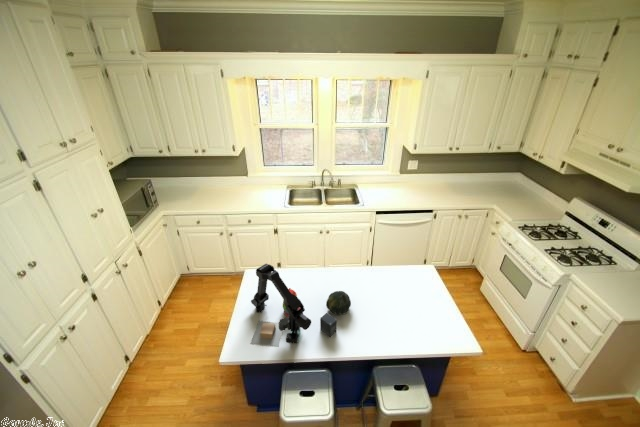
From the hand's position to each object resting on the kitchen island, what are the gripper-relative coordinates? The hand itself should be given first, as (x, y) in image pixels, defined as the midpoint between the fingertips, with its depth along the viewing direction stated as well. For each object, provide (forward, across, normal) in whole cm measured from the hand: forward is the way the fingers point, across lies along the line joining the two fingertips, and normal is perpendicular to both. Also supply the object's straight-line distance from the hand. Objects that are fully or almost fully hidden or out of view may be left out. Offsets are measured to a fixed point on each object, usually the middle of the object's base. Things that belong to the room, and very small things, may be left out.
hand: (295, 337), depth 166 cm
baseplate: (+1, -1, -16) cm, 16 cm away
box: (+1, -7, +18) cm, 19 cm away
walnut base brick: (0, -1, -16) cm, 16 cm away
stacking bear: (+1, -18, -6) cm, 19 cm away
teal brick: (+1, 0, 0) cm, 1 cm away
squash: (+1, -24, +23) cm, 33 cm away
